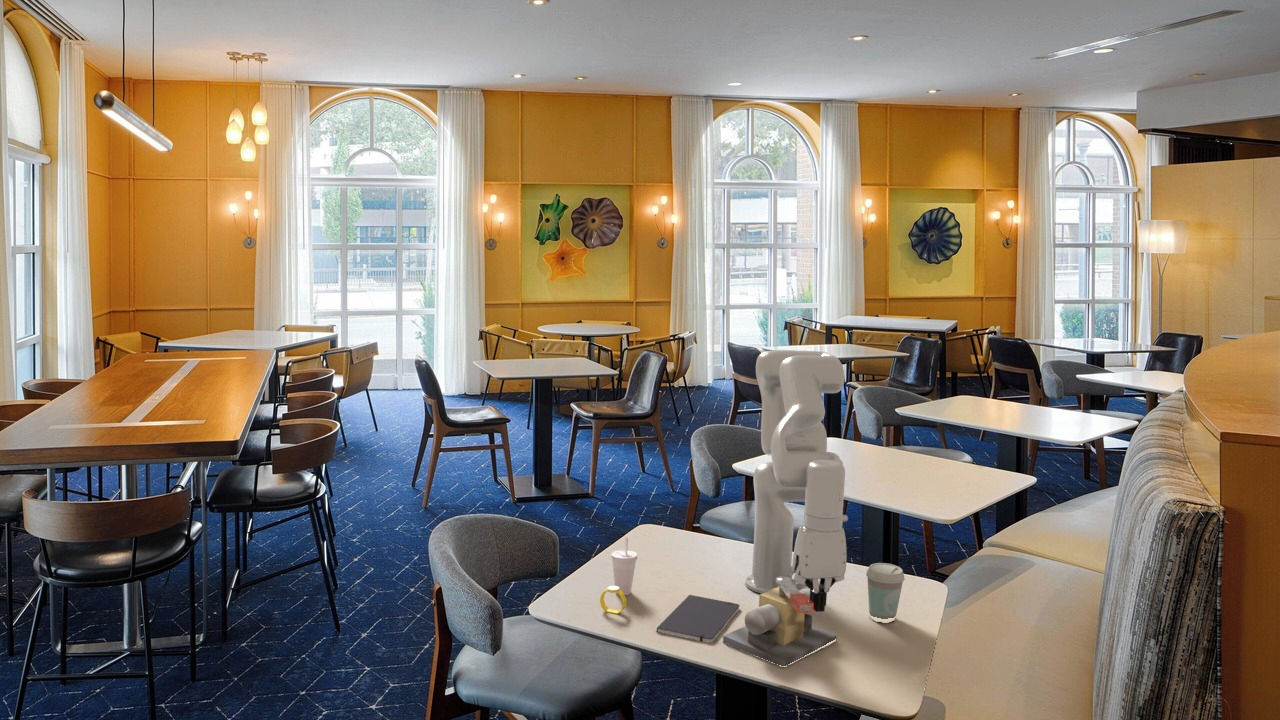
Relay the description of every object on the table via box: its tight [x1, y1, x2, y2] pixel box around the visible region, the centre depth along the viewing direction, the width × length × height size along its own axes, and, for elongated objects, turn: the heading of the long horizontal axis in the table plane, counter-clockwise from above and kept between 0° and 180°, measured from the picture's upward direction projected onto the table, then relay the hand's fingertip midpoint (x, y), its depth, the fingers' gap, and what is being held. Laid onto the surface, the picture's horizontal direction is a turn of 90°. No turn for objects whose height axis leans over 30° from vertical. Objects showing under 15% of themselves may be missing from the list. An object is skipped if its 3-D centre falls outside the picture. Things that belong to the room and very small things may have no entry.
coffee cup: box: [866, 562, 906, 619], centre depth 215 cm, size 9×8×12 cm
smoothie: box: [610, 536, 638, 596], centre depth 225 cm, size 6×6×14 cm
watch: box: [599, 585, 627, 615], centre depth 213 cm, size 6×3×6 cm, turn 68°
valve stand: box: [722, 587, 837, 666], centre depth 200 cm, size 19×16×12 cm
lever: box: [776, 576, 814, 614], centre depth 193 cm, size 16×3×2 cm, turn 10°
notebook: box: [656, 594, 740, 644], centre depth 211 cm, size 13×2×21 cm
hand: (817, 609), depth 190 cm, fingers closed
